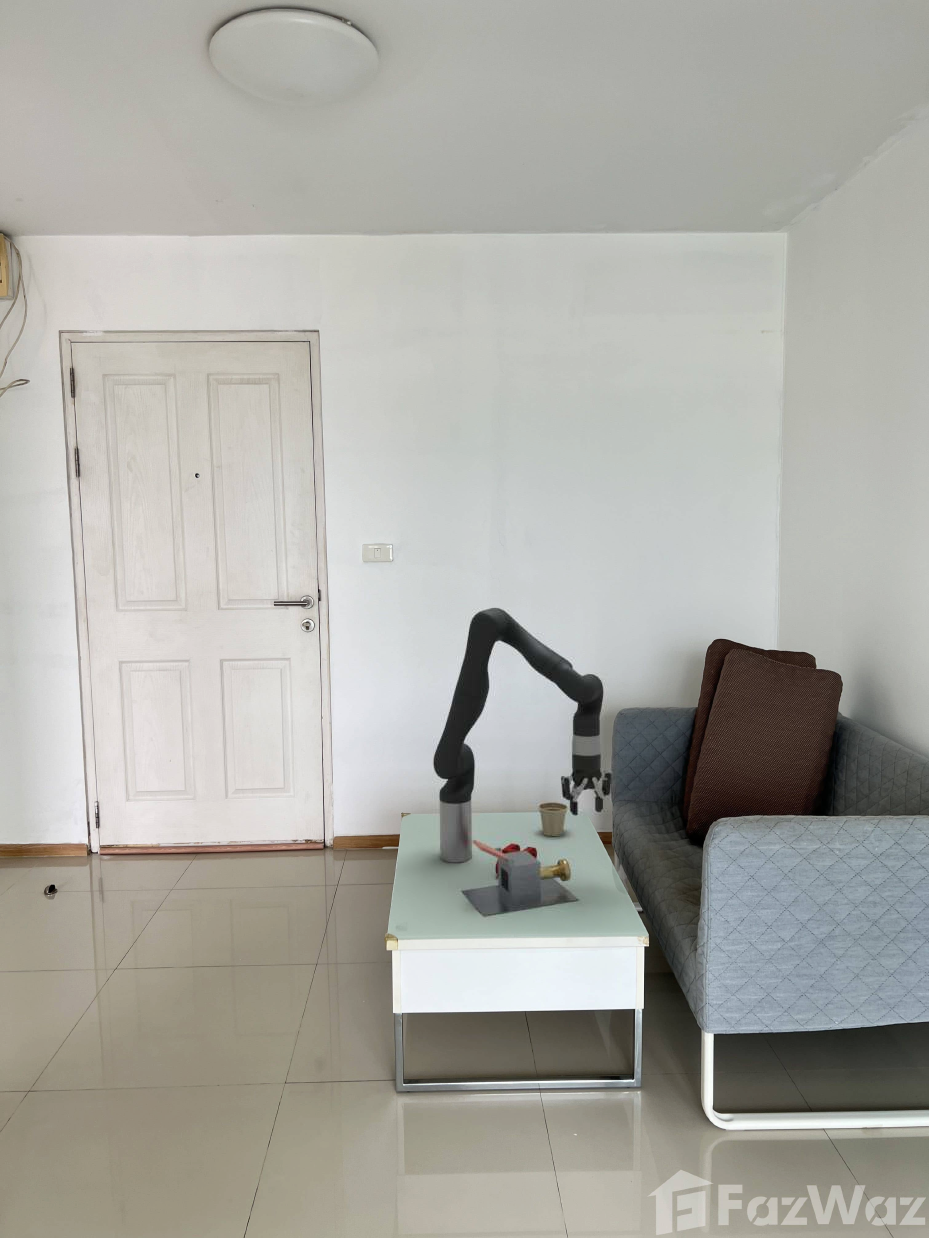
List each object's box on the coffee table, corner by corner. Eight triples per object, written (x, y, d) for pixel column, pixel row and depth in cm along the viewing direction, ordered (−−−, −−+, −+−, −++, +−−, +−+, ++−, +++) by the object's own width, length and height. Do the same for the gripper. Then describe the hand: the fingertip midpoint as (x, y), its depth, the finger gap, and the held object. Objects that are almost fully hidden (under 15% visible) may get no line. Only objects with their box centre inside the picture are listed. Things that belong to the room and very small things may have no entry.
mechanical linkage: (514, 857, 252) (514, 841, 251) (537, 862, 248) (537, 845, 248) (487, 876, 238) (487, 858, 238) (510, 881, 234) (510, 863, 234)
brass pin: (511, 884, 226) (511, 863, 226) (561, 876, 231) (561, 855, 231) (519, 892, 221) (519, 871, 220) (570, 884, 226) (570, 863, 225)
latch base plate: (461, 891, 227) (460, 848, 226) (551, 877, 236) (551, 835, 235) (483, 916, 212) (483, 869, 211) (578, 900, 221) (578, 855, 220)
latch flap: (471, 841, 222) (473, 838, 222) (499, 854, 225) (501, 851, 225) (481, 851, 215) (483, 847, 216) (510, 864, 219) (512, 860, 219)
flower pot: (573, 831, 273) (573, 804, 272) (560, 840, 265) (560, 812, 264) (546, 826, 278) (546, 800, 277) (532, 835, 270) (532, 808, 269)
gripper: (603, 745, 233) (603, 805, 235) (555, 750, 228) (555, 812, 230) (617, 751, 226) (617, 813, 228) (568, 756, 221) (568, 820, 223)
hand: (586, 812), depth 229 cm, fingers open, 6 cm apart
